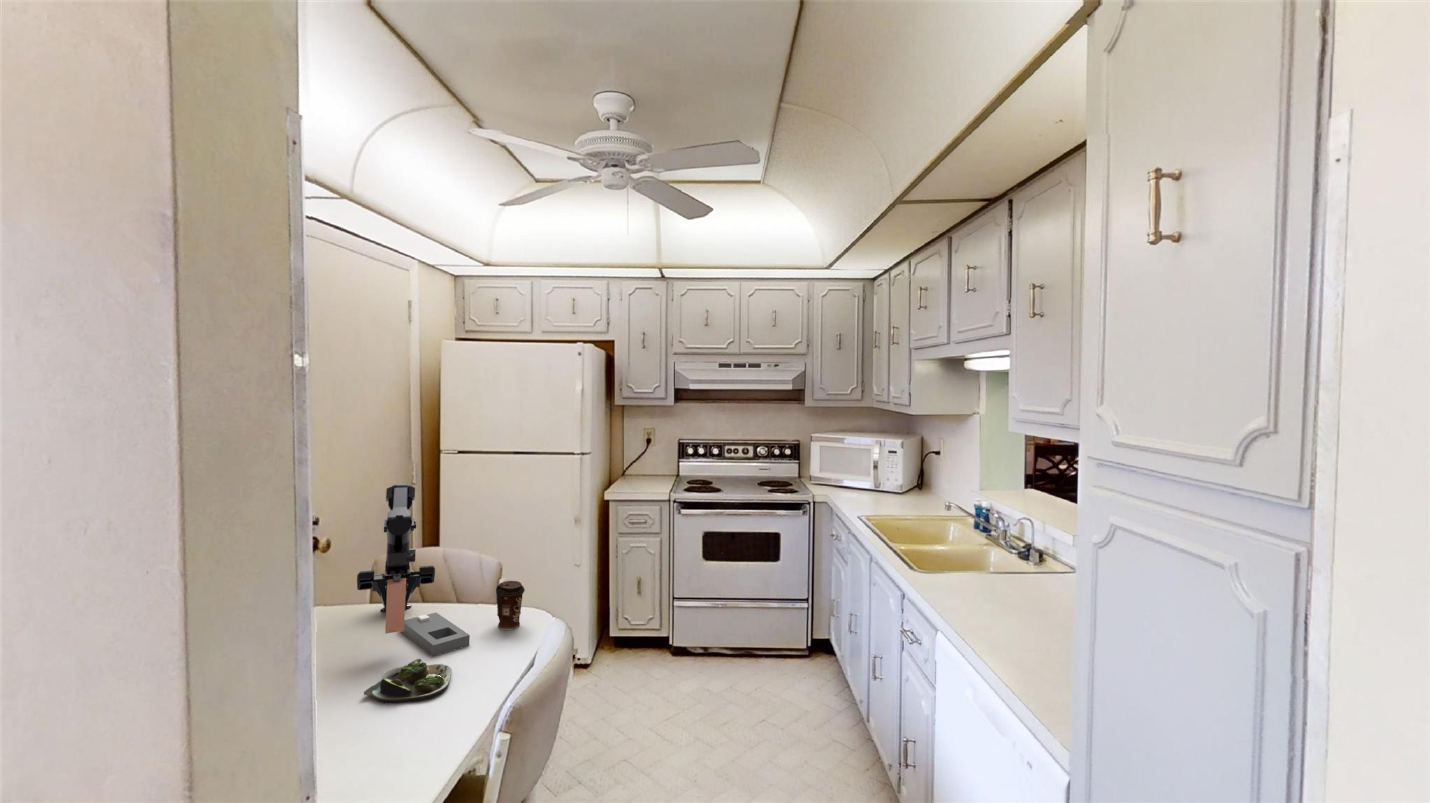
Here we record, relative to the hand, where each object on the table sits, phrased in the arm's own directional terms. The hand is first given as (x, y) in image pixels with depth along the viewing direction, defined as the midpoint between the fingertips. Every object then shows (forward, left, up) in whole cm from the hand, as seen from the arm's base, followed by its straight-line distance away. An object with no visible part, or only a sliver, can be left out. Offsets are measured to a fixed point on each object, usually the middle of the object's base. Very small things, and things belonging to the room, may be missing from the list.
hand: (395, 606), depth 157 cm
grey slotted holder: (-13, +2, -13) cm, 19 cm away
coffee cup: (-28, +17, -13) cm, 35 cm away
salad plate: (+11, +16, -14) cm, 24 cm away
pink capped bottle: (-1, -1, -7) cm, 7 cm away
